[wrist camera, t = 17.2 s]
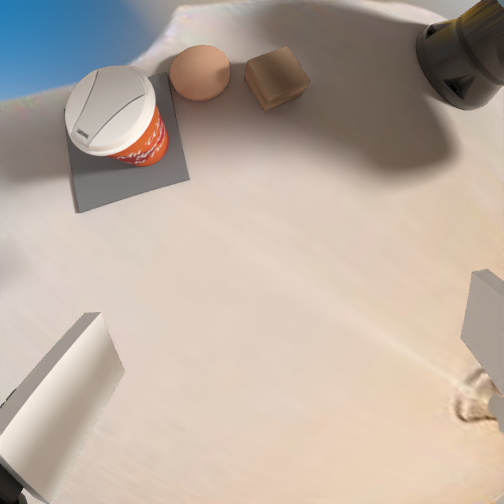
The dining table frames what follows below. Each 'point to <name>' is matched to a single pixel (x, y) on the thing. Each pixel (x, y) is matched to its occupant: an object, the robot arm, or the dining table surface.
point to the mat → (124, 174)
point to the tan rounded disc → (200, 73)
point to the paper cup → (117, 116)
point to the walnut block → (275, 78)
